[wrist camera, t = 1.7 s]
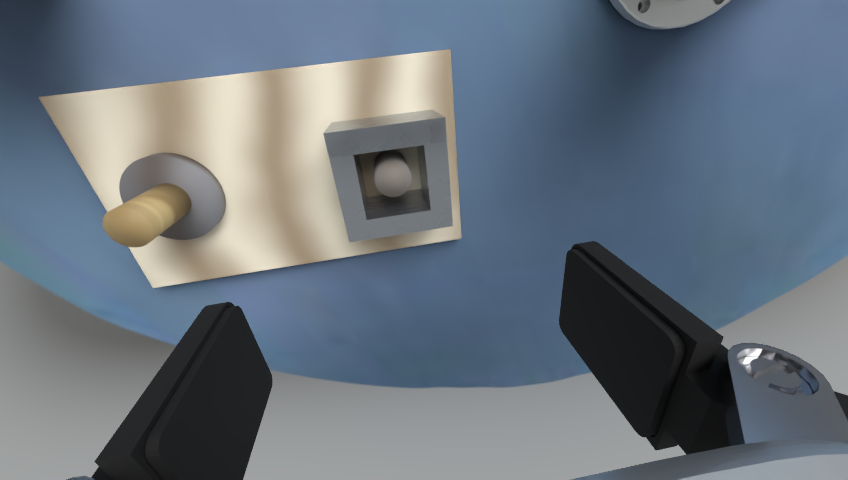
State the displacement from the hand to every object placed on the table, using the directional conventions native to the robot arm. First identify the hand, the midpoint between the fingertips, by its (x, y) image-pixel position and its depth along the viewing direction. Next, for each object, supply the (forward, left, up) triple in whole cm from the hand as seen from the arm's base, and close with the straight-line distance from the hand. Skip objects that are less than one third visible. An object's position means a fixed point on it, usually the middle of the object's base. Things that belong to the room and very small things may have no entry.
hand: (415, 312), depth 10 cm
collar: (0, 0, -17) cm, 17 cm away
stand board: (+7, 0, -18) cm, 19 cm away
